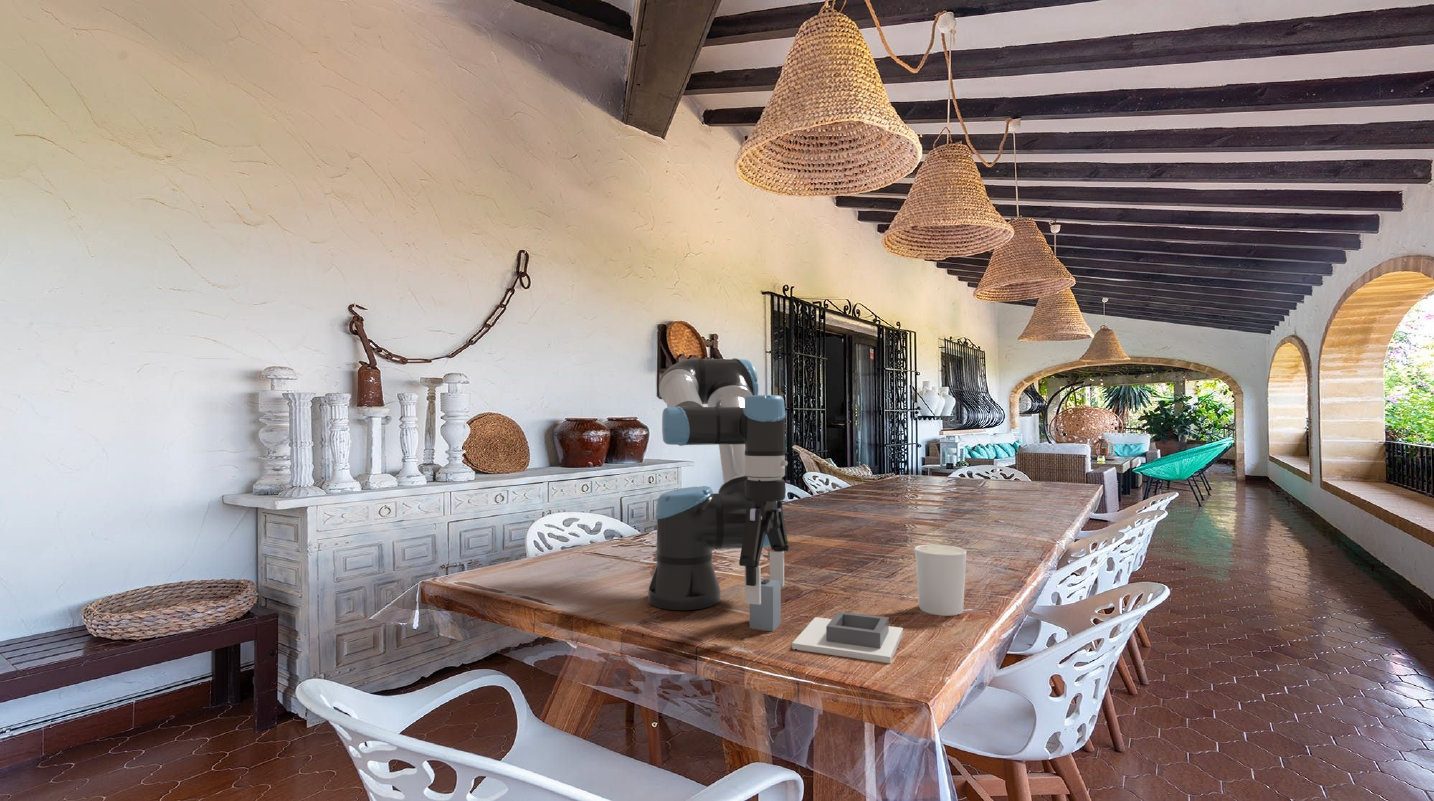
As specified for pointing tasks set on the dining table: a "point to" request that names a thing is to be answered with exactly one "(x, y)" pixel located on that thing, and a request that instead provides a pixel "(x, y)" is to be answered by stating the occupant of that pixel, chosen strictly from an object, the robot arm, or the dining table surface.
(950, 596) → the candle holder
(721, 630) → the dining table surface
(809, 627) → the charging dock
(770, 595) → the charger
